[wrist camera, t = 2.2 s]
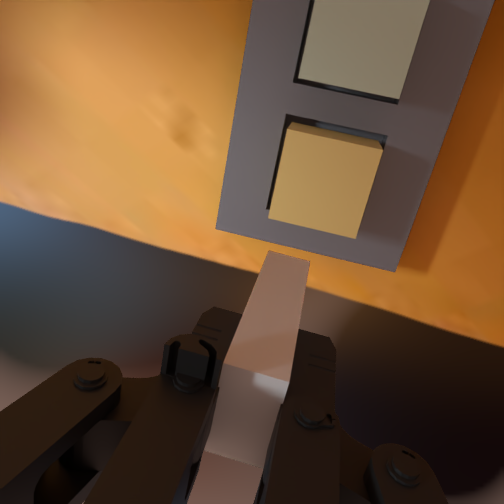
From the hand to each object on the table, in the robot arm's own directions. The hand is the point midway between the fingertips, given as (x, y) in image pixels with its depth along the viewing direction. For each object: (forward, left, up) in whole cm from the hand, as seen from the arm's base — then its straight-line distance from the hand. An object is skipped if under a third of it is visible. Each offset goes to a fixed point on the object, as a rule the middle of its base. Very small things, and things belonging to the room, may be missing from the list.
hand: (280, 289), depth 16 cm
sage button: (+1, +9, -18) cm, 20 cm away
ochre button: (+1, 0, -18) cm, 18 cm away
